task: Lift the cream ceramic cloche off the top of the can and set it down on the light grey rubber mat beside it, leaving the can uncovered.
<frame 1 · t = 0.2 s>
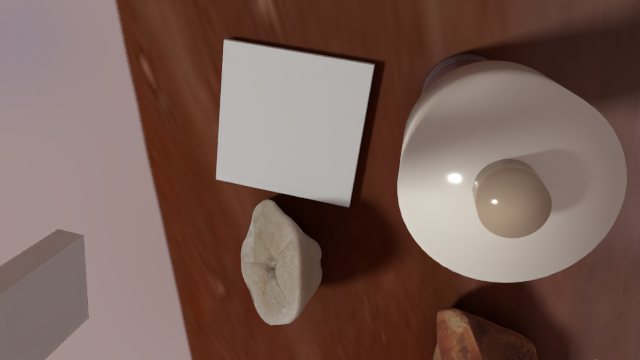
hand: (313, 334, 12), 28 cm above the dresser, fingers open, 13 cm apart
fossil: (480, 340, 44), on the dresser
mat: (291, 124, 40), on the dresser
can: (463, 92, 36), on the dresser, touching cloche
cloche: (486, 144, 23), point 14 cm above the dresser, touching can
stone: (283, 241, 44), on the dresser
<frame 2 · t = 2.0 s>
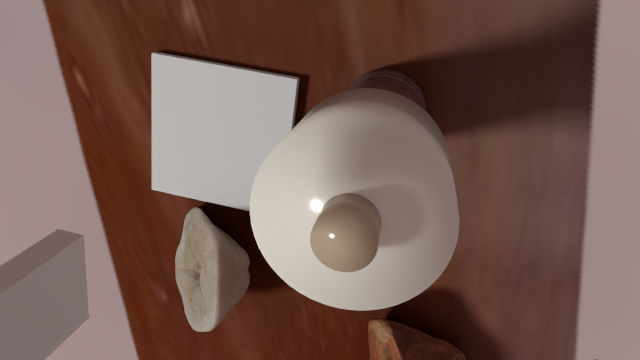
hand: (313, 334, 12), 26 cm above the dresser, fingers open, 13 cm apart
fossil: (415, 348, 44), on the dresser
mat: (222, 136, 40), on the dresser
can: (386, 106, 36), on the dresser, touching cloche
cloche: (366, 168, 24), point 14 cm above the dresser, touching can
stone: (216, 248, 45), on the dresser
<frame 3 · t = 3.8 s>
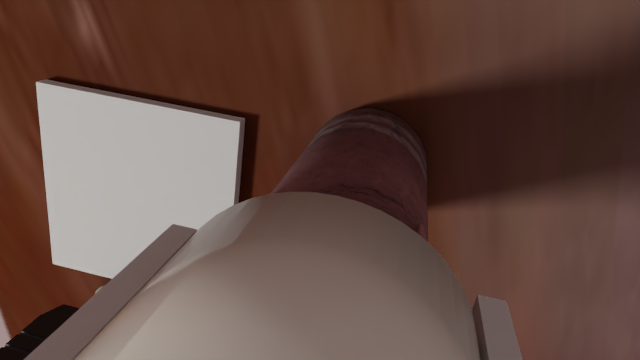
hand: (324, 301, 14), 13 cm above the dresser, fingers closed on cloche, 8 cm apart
mat: (143, 195, 29), on the dresser
can: (370, 160, 25), on the dresser, touching cloche
cloche: (313, 335, 12), point 14 cm above the dresser, touching can, gripper
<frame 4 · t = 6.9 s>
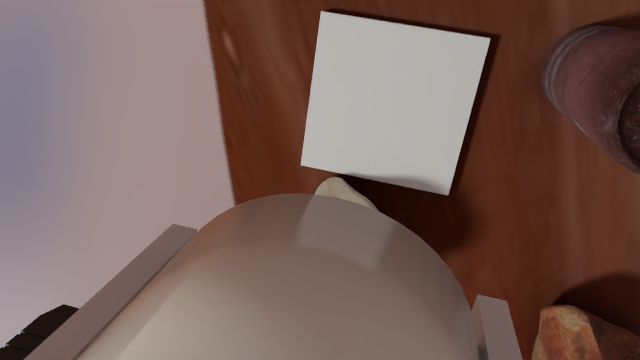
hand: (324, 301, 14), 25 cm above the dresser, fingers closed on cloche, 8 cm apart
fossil: (580, 339, 41), on the dresser
mat: (388, 105, 36), on the dresser
can: (587, 68, 33), on the dresser
cloche: (313, 336, 12), point 27 cm above the dresser, touching gripper
stone: (346, 223, 41), on the dresser
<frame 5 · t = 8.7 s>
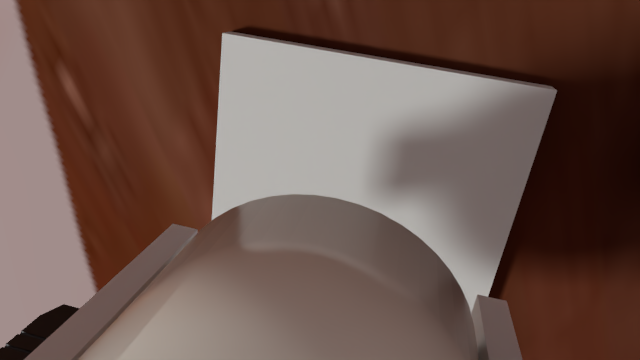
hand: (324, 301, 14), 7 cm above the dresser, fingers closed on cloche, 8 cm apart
mat: (356, 202, 20), on the dresser
cloche: (313, 337, 12), point 8 cm above the dresser, touching gripper
when the fingers open (2 cm above the dresser, at t = 10.2 s): cloche drops 2 cm, resting on mat.
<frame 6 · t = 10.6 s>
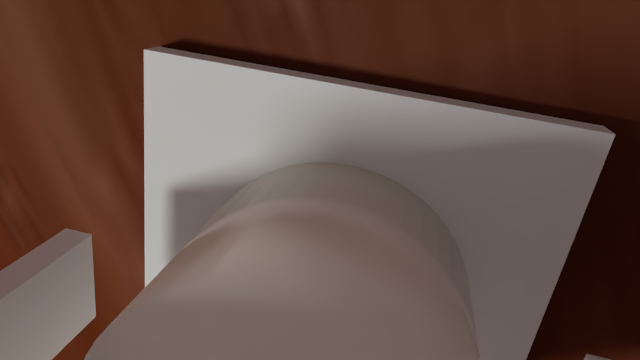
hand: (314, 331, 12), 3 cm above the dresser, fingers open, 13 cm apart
mat: (333, 272, 15), on the dresser
cloche: (329, 288, 14), point 1 cm above the dresser, touching mat
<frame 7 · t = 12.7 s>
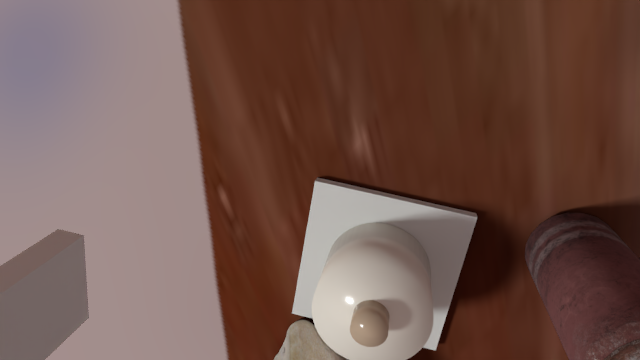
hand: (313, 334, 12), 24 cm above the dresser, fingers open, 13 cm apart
mat: (378, 264, 38), on the dresser
can: (569, 246, 34), on the dresser
cloche: (377, 269, 37), point 1 cm above the dresser, touching mat
stone: (317, 358, 42), on the dresser
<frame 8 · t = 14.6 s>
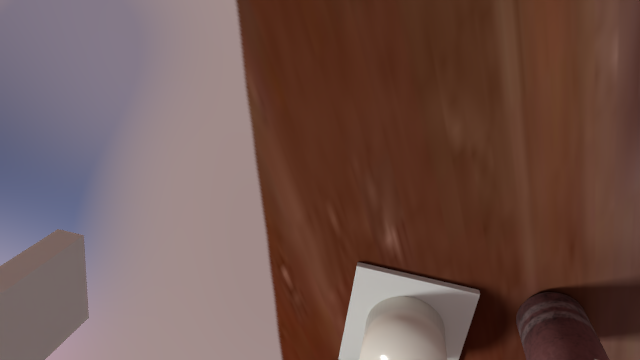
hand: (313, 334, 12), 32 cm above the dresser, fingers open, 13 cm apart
mat: (404, 324, 49), on the dresser
can: (549, 314, 46), on the dresser
cloche: (404, 329, 48), point 1 cm above the dresser, touching mat
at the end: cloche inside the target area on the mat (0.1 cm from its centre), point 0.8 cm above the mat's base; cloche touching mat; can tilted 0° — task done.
